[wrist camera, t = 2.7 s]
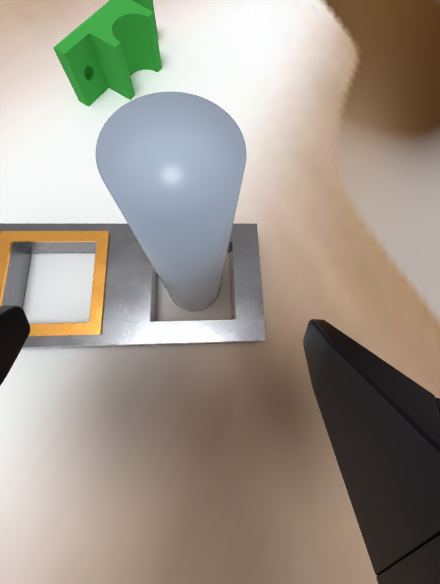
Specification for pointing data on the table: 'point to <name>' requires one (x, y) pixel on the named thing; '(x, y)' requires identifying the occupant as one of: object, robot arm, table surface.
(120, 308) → the plate with square holes
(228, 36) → the table surface
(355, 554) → the table surface
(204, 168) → the post
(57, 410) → the table surface
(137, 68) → the pipe clamp
